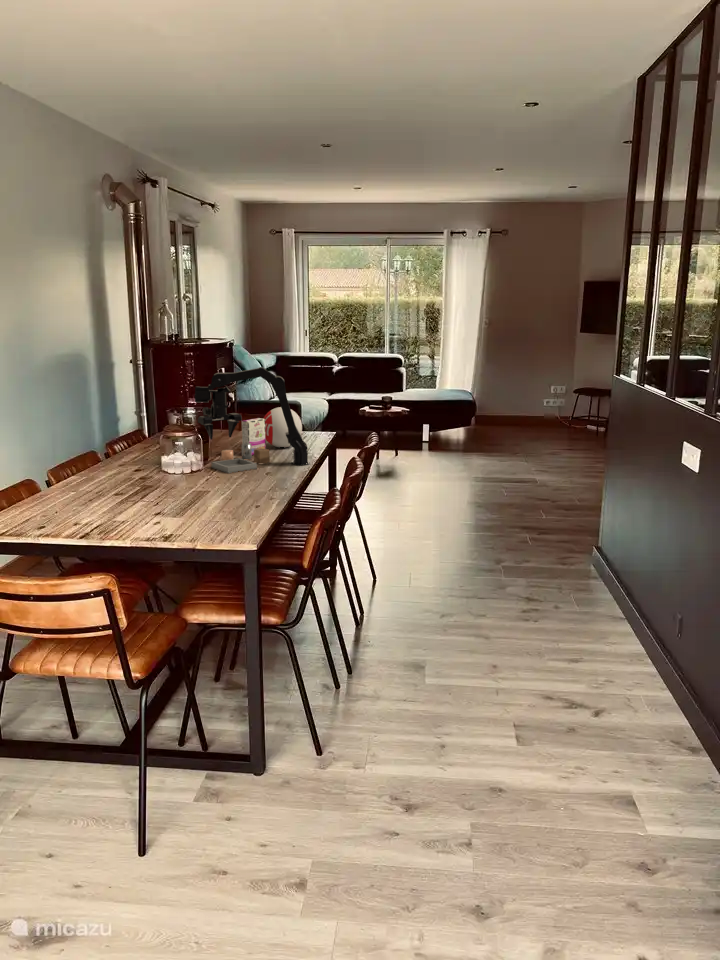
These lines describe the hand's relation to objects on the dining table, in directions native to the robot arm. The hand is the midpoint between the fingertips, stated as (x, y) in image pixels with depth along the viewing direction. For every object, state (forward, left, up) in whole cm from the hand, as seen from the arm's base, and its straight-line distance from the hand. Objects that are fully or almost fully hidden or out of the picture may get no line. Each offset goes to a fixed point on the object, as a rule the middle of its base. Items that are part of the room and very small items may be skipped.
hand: (220, 438), depth 322 cm
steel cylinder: (+5, -16, -12) cm, 21 cm away
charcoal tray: (-9, -1, -12) cm, 15 cm away
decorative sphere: (+19, -45, -12) cm, 50 cm away
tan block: (+5, -6, -12) cm, 14 cm away
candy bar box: (+13, -25, -12) cm, 31 cm away
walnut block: (-6, -17, -12) cm, 22 cm away
